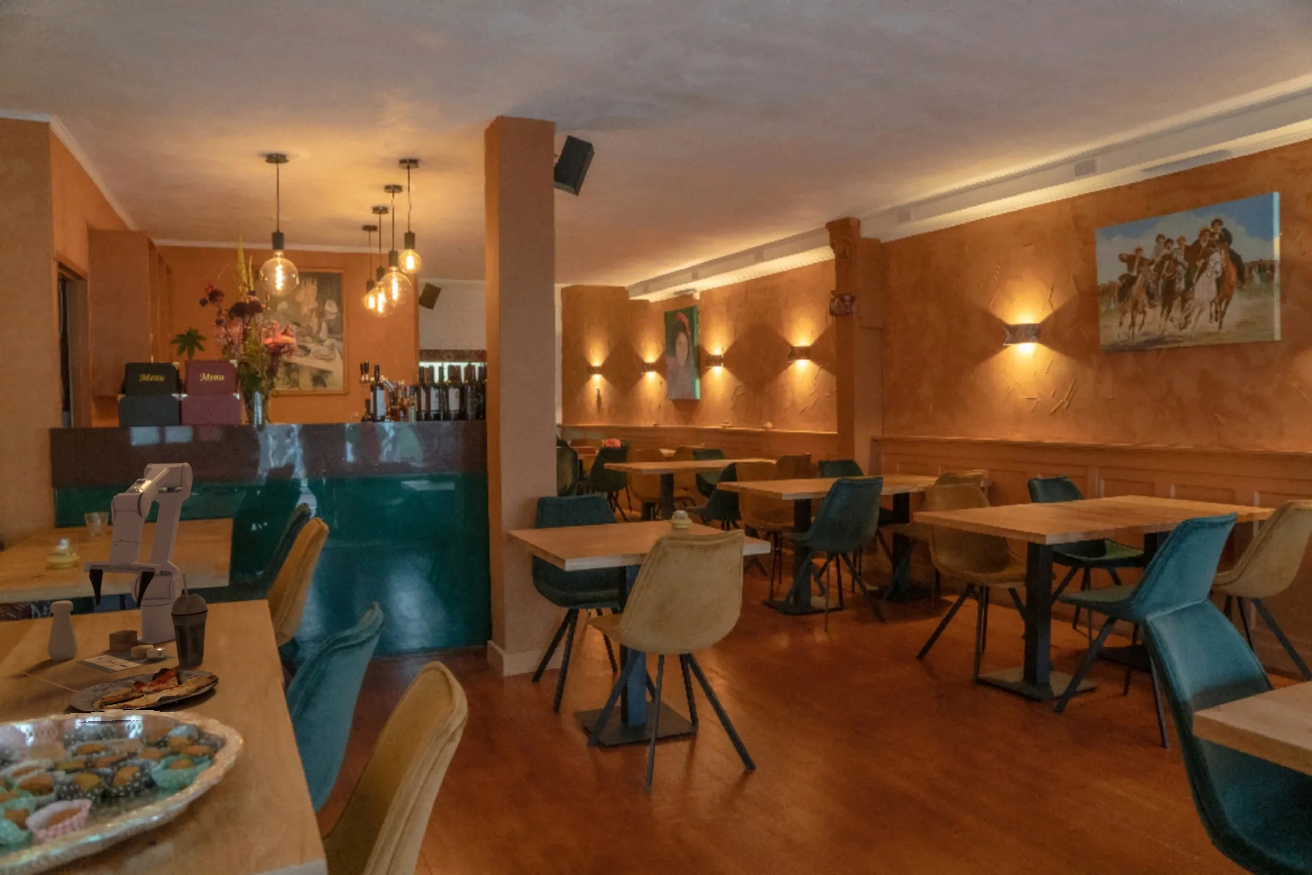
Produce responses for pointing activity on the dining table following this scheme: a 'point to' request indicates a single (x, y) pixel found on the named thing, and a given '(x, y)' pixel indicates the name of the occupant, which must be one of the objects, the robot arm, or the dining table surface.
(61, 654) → the salt shaker
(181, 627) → the beverage cup
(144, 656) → the beech disc
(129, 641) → the walnut block
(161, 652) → the tealight tin
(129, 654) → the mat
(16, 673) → the dining table surface
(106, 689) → the food plate
